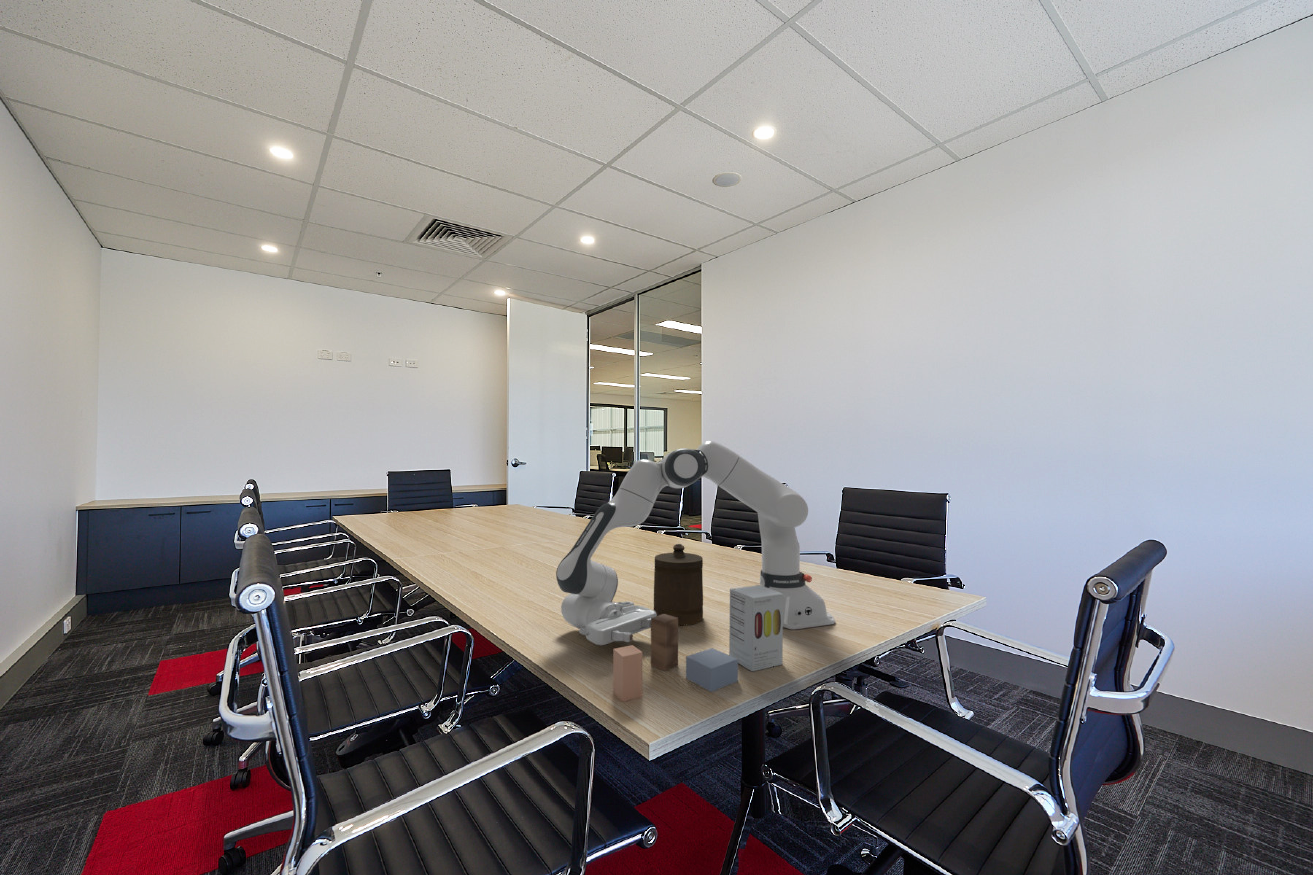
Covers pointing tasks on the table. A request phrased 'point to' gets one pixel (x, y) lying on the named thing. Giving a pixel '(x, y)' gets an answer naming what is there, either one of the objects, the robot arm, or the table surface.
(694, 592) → the wooden container
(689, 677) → the slate block
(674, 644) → the walnut post
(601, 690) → the table surface
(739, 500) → the robot arm
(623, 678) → the terracotta post
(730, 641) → the supplement box
